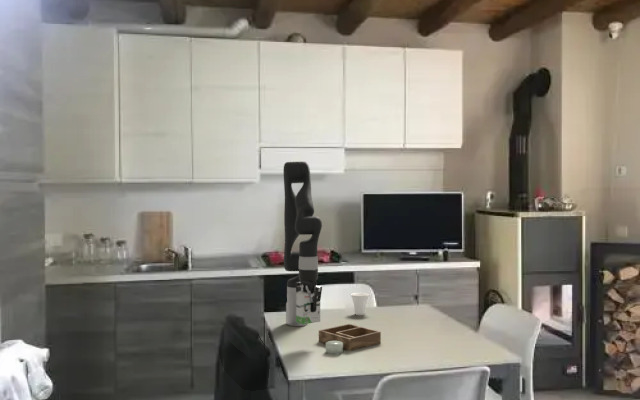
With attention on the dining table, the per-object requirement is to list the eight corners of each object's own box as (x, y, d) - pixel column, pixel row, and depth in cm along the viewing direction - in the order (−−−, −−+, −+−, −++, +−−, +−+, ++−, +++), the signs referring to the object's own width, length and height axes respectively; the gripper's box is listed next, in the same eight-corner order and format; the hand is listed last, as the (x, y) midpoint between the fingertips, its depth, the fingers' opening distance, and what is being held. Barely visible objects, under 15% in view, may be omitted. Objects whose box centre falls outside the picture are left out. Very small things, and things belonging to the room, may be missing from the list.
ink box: (302, 324, 221) (302, 294, 220) (295, 322, 225) (295, 292, 225) (321, 321, 226) (321, 291, 225) (314, 319, 230) (314, 289, 229)
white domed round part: (322, 352, 217) (322, 342, 217) (335, 348, 221) (335, 339, 221) (333, 355, 212) (333, 346, 212) (346, 352, 216) (346, 343, 216)
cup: (370, 316, 277) (370, 295, 277) (351, 316, 277) (351, 295, 277) (369, 312, 286) (369, 292, 286) (350, 312, 286) (350, 292, 286)
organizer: (318, 341, 231) (318, 330, 231) (349, 334, 242) (349, 323, 242) (349, 351, 218) (349, 339, 218) (380, 343, 229) (380, 331, 229)
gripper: (289, 266, 228) (289, 308, 228) (312, 270, 217) (312, 315, 217) (304, 264, 232) (304, 306, 233) (327, 268, 222) (327, 312, 222)
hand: (308, 310), depth 225 cm, fingers closed on ink box, 5 cm apart
